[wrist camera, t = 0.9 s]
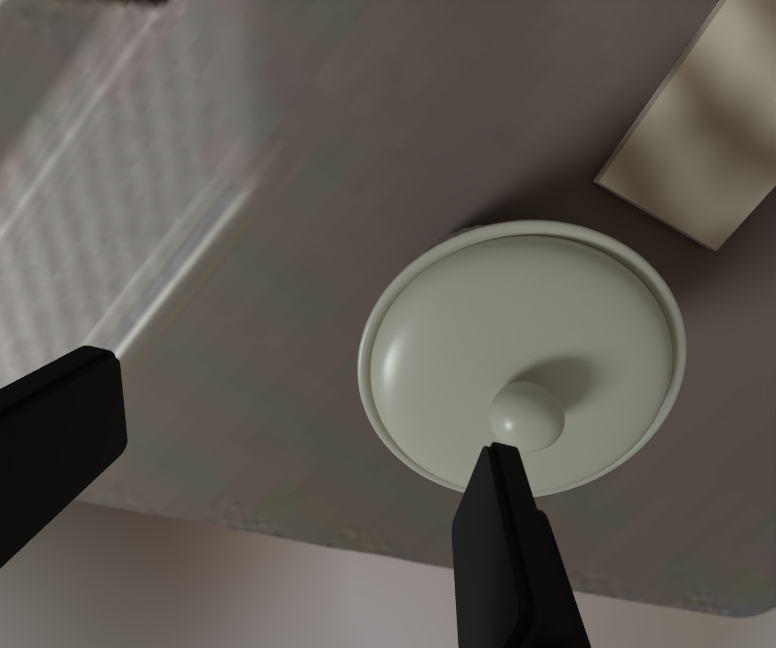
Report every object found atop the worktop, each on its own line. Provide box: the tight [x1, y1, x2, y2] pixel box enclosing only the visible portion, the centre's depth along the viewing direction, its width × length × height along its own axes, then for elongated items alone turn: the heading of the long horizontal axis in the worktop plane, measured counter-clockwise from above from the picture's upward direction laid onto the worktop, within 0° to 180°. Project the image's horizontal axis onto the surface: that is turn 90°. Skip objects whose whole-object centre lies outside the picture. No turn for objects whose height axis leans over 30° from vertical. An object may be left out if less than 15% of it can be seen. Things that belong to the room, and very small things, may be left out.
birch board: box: [593, 0, 776, 251], centre depth 29 cm, size 16×12×1 cm
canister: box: [358, 220, 687, 497], centre depth 27 cm, size 18×18×21 cm
